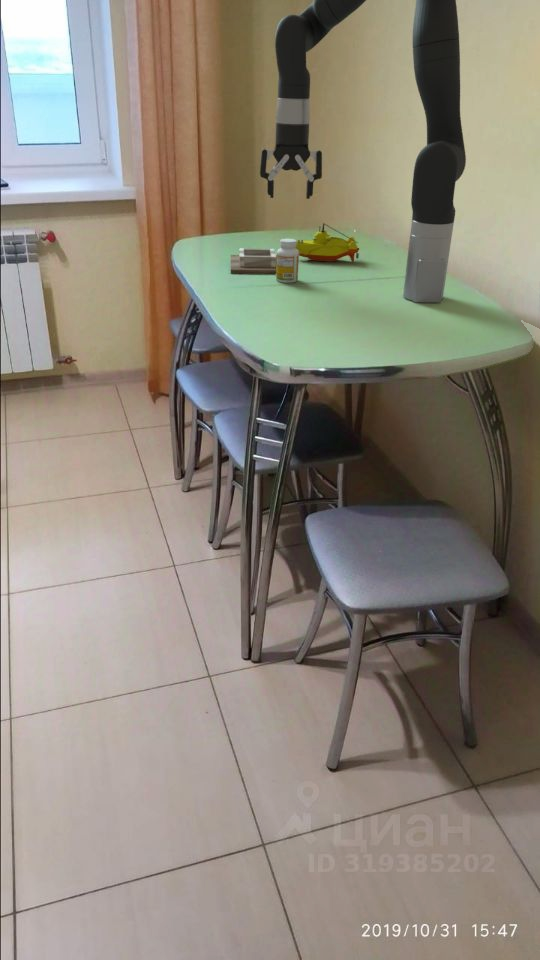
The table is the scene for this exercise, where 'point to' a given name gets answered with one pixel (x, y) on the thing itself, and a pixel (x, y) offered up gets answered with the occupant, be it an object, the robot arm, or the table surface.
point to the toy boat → (327, 247)
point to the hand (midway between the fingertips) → (289, 197)
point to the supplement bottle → (287, 261)
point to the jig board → (254, 261)
